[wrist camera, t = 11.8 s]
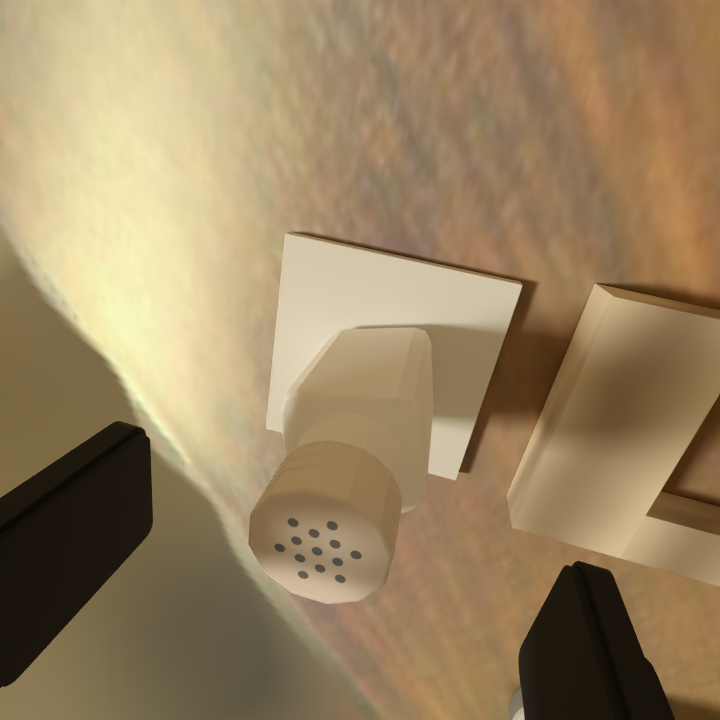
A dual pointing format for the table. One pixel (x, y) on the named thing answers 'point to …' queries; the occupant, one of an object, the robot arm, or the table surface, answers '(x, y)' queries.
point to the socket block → (626, 435)
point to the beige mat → (394, 326)
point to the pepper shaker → (348, 464)
